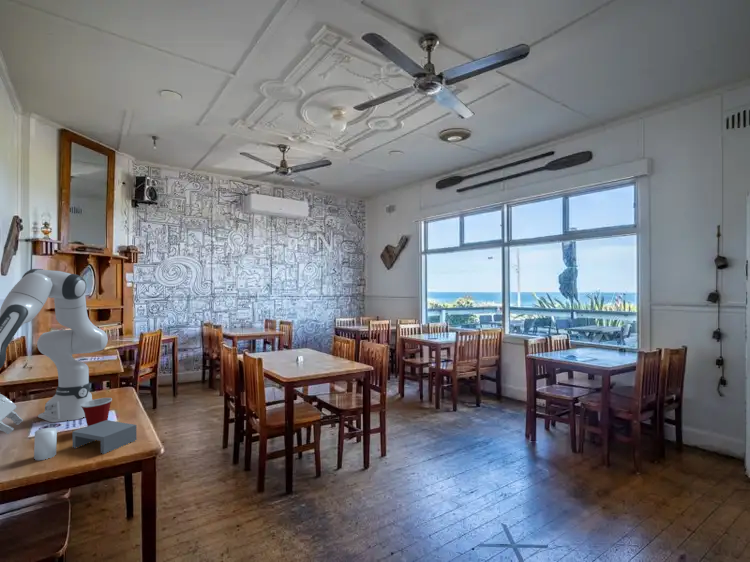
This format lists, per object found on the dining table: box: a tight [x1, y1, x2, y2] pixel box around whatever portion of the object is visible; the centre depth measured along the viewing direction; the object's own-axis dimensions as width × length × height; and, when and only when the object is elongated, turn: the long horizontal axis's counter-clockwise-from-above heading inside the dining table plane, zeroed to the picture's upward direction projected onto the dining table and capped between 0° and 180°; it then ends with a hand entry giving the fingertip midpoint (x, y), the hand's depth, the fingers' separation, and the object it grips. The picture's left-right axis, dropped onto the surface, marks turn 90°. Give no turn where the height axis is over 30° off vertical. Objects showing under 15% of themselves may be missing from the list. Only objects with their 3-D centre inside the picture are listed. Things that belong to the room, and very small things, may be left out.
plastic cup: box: [81, 397, 113, 426], centre depth 169 cm, size 11×11×12 cm
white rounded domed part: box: [33, 427, 58, 461], centre depth 143 cm, size 6×6×9 cm
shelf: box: [72, 420, 137, 455], centre depth 154 cm, size 16×13×6 cm
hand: (16, 427), depth 140 cm, fingers open, 8 cm apart
